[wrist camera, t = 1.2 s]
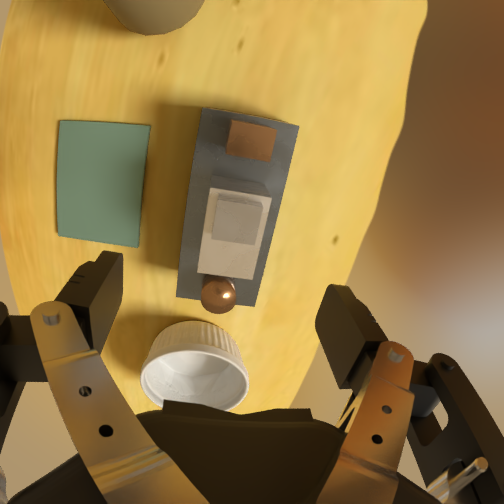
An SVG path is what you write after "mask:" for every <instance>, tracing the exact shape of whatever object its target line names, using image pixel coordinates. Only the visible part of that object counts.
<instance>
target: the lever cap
mask: <svg viewBox="0 0 504 504" xmlns="http://www.w3.org/2000/svg"><path fill="white" fill-rule="evenodd" d="M271 200H272V197H271V195H270V193H269V191H268V190H267V188H266V186H265V184H261V183H255V182H249V181H244V180H238V179H232V178H226V177H219V176H213V175H212V178H211V183H210V189H209V195H208V201H207V207H206V213H205V220H204V226H203V233H202V239H201V246H200V253H199V262H198V270H197V273H204V274H212V275H219V276H227V277H234V278H242V279H250V280H252V279H253V275H254V271H255V267H256V263H257V259H258V254H259V250H260V246H261V242H262V238H263V233H264V229H265V225H266V221H267V217H268V212H269V208H270V204H271Z"/></svg>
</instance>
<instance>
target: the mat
mask: <svg viewBox="0 0 504 504" xmlns="http://www.w3.org/2000/svg"><path fill="white" fill-rule="evenodd" d="M150 128H151V126H148V125H138V124H126V123H113V122H96V121H71V120H62V121H60V128H59V141H58V158H57V223H58V236H62V237H68V238H75V239H81V240H88V241H94V242H101V243H108V244H114V245H121V246H128V247H135V248H138V247H139V236H140V220H141V206H142V195H143V184H144V175H145V166H146V157H147V150H148V142H149V135H150Z"/></svg>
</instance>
